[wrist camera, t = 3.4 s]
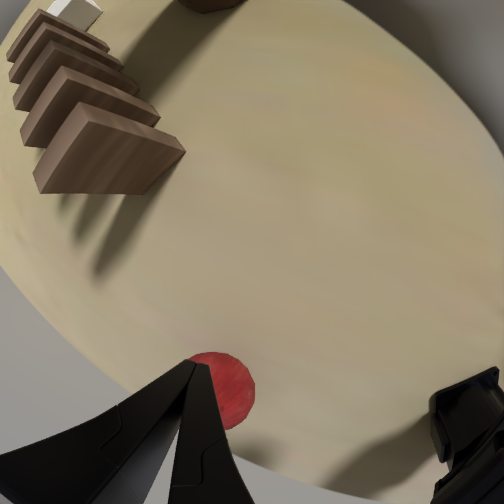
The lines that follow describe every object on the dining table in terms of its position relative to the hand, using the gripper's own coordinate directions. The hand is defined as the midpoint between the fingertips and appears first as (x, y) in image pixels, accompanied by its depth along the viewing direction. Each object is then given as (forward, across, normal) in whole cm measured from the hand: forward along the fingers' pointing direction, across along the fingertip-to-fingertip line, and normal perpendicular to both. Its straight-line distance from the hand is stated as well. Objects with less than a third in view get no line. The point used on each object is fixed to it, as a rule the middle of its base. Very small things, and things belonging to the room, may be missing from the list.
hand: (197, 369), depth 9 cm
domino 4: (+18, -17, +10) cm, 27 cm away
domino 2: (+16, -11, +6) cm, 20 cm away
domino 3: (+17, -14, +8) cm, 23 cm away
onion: (+9, +1, -10) cm, 14 cm away
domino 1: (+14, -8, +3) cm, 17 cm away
